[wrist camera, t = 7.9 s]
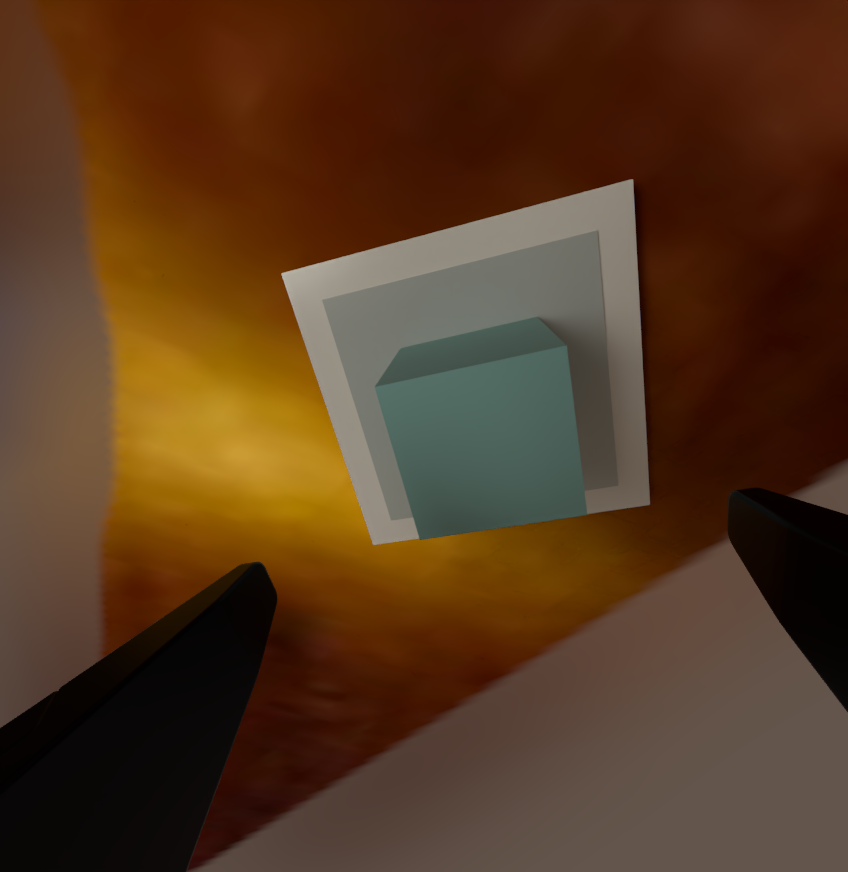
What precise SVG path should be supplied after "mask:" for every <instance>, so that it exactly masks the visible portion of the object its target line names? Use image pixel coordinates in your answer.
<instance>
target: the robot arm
mask: <svg viewBox="0 0 848 872" xmlns="http://www.w3.org/2000/svg"><path fill="white" fill-rule="evenodd" d="M728 535H729V539H730V541H731V543H732V545H733V547H734V549H735V550H736V552H737V554H738V555H739V557H740V558H741V560H742V562H743V563H744V565H745V567H746V568H747V570H748V572H749V573H750V575H751V577H752V578H753V580H754V582H755V583H756V585H757V586H758V588H759V590H760V591H761V593H762V595H763V596H764V598H765V600H766V601H767V603H768V605H769V606H770V608H771V609H772V611H773V613H774V614H775V616H776V617H777V619H778V620H779V622H780V623H781V625H782V626H783V627H784V628H785V630H786V632H787V633H788V634H789V636H790V637H791V638H792V640H793V641H794V642H795V644H796V645H797V646H798V648H799V649H800V650H801V651H802V653H803V654H804V655H805V657H806V658H807V659H808V661H809V662H810V663H811V665H812V666H813V667H814V669H815V670H816V671H817V673H818V674H819V675H820V677H821V678H822V679H823V680H824V682H825V683H826V684H827V686H828V687H829V688H830V690H831V691H832V692H833V693H834V695H835V696H836V698H837V699H838V700H839V702H840V703H841V704H842V705H843V707H844V708H845V709H846V711H847V712H848V515H846V514H843V513H840V512H837V511H833V510H830V509H827V508H824V507H820V506H817V505H814V504H810V503H807V502H804V501H801V500H797V499H794V498H791V497H788V496H784V495H781V494H778V493H775V492H771V491H768V490H765V489H762V488H749V489H742V490H736V491H733V492H732V493H731V494H730V496H729V500H728ZM276 605H277V593H276V590H275V588H274V585H273V583H272V581H271V579H270V577H269V575H268V572H267V570H266V568H265V566H264V565H263V564H262V563H261V562H251V563H244V564H241V565H239V566H237V567H236V568H234V569H233V570H232V571H230V572H229V573H227V574H226V575H224V576H223V577H221V578H220V579H218V580H217V581H215V582H214V583H212V584H211V585H210V586H208V587H207V588H205V589H204V590H202V591H201V592H199V593H198V594H196V595H195V596H193V597H192V598H191V599H189V600H188V601H186V602H185V603H183V604H182V605H180V606H179V607H177V608H176V609H174V610H173V611H172V612H170V613H169V614H167V615H166V616H164V617H163V618H161V619H160V620H158V621H157V622H155V623H154V624H152V625H151V626H150V627H148V628H147V629H145V630H144V631H142V632H141V633H139V634H138V635H136V636H135V637H133V638H132V639H131V640H129V641H128V642H126V643H125V644H123V645H122V646H120V647H119V648H117V649H116V650H114V651H113V652H112V653H110V654H109V655H107V656H106V657H104V658H103V659H101V660H100V661H98V662H97V663H95V664H94V665H93V666H91V667H90V668H88V669H87V670H85V671H84V672H82V673H81V674H79V675H78V676H76V677H75V678H73V679H72V680H71V681H69V682H68V683H66V684H65V685H63V686H62V687H61V688H60V689H59V691H55V692H53V693H51V694H50V695H48V696H47V697H46V698H44V699H43V700H41V701H40V702H38V703H37V704H35V705H34V706H33V707H31V708H30V709H28V710H26V711H25V712H24V713H22V714H21V715H19V716H17V717H16V718H14V719H13V720H12V721H10V722H9V723H7V724H6V725H4V726H3V727H1V728H0V872H186V871H187V869H188V866H189V863H190V860H191V858H192V855H193V852H194V849H195V847H196V844H197V841H198V838H199V836H200V833H201V830H202V827H203V825H204V822H205V819H206V816H207V814H208V811H209V808H210V806H211V803H212V800H213V797H214V795H215V792H216V789H217V786H218V784H219V781H220V778H221V775H222V773H223V770H224V767H225V764H226V762H227V759H228V756H229V753H230V751H231V748H232V745H233V742H234V740H235V737H236V734H237V732H238V729H239V726H240V723H241V721H242V718H243V715H244V712H245V710H246V707H247V704H248V701H249V699H250V696H251V693H252V690H253V688H254V685H255V682H256V679H257V676H258V673H259V669H260V666H261V662H262V659H263V655H264V651H265V647H266V643H267V639H268V636H269V632H270V628H271V624H272V620H273V616H274V613H275V609H276Z"/></svg>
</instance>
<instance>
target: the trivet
mask: <svg viewBox="0 0 848 872" xmlns="http://www.w3.org/2000/svg"><path fill="white" fill-rule="evenodd" d="M281 274H282V277H283V280H284V283H285V286H286V289H287V292H288V295H289V298H290V301H291V304H292V307H293V310H294V313H295V316H296V319H297V322H298V325H299V328H300V330H301V333H302V336H303V339H304V342H305V345H306V348H307V351H308V354H309V357H310V360H311V363H312V366H313V369H314V372H315V375H316V378H317V381H318V383H319V386H320V389H321V392H322V395H323V398H324V401H325V404H326V407H327V410H328V413H329V416H330V419H331V422H332V425H333V428H334V431H335V434H336V436H337V439H338V442H339V445H340V448H341V451H342V454H343V457H344V460H345V463H346V466H347V469H348V472H349V475H350V478H351V481H352V484H353V487H354V490H355V492H356V495H357V498H358V501H359V504H360V507H361V510H362V513H363V516H364V519H365V522H366V525H367V528H368V531H369V534H370V537H371V540H372V543H373V545H377V544H384V543H391V542H398V541H404V540H411V539H418V538H419V535H418V532H417V529H416V525H415V522H414V518H413V515H412V512H411V508H410V505H409V502H408V498H407V495H406V491H405V488H404V485H403V481H402V478H401V475H400V471H399V468H398V465H397V461H396V458H395V454H394V451H393V448H392V444H391V441H390V438H389V434H388V431H387V427H386V424H385V421H384V417H383V414H382V411H381V407H380V404H379V400H378V397H377V394H376V390H375V386H376V384H377V383H378V381H379V380H380V378H381V377H382V375H383V374H384V372H385V371H386V369H387V368H388V366H389V365H390V363H391V362H392V360H393V359H394V357H395V356H396V354H397V353H398V351H399V350H400V348H403V347H408V346H412V345H416V344H421V343H425V342H429V341H434V340H438V339H442V338H447V337H451V336H455V335H460V334H464V333H468V332H473V331H477V330H481V329H486V328H490V327H494V326H499V325H503V324H507V323H512V322H516V321H520V320H525V319H529V318H533V317H538V318H539V319H540V320H541V321H542V322H543V323H544V324H545V325H546V326H547V327H548V328H549V329H550V330H551V331H552V332H553V333H554V334H555V335H556V336H557V337H558V338H559V339H561V340H562V341H563V342H564V343H565V344H566V345H567V352H568V360H569V368H570V376H571V385H572V393H573V401H574V409H575V417H576V426H577V434H578V442H579V450H580V458H581V466H582V475H583V483H584V491H585V499H586V507H587V514H591V513H597V512H604V511H611V510H618V509H625V508H632V507H639V506H646V505H650V492H649V473H648V454H647V435H646V416H645V397H644V378H643V359H642V340H641V321H640V302H639V283H638V264H637V244H636V225H635V206H634V187H633V179H631V180H627V181H624V182H620V183H616V184H612V185H609V186H605V187H601V188H597V189H594V190H590V191H586V192H583V193H579V194H575V195H571V196H568V197H564V198H560V199H557V200H553V201H549V202H545V203H542V204H538V205H534V206H530V207H527V208H523V209H519V210H516V211H512V212H508V213H504V214H501V215H497V216H493V217H490V218H486V219H482V220H478V221H475V222H471V223H467V224H463V225H460V226H456V227H452V228H449V229H445V230H441V231H437V232H434V233H430V234H426V235H423V236H419V237H415V238H411V239H408V240H404V241H400V242H396V243H393V244H389V245H385V246H382V247H378V248H374V249H370V250H367V251H363V252H359V253H356V254H352V255H348V256H344V257H341V258H337V259H333V260H330V261H326V262H322V263H318V264H315V265H311V266H307V267H303V268H300V269H296V270H292V271H289V272H285V273H281Z"/></svg>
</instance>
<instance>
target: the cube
mask: <svg viewBox="0 0 848 872" xmlns="http://www.w3.org/2000/svg"><path fill="white" fill-rule="evenodd" d="M375 390H376V394H377V397H378V400H379V404H380V407H381V411H382V414H383V417H384V421H385V424H386V427H387V431H388V434H389V438H390V441H391V444H392V448H393V451H394V454H395V458H396V461H397V465H398V468H399V471H400V475H401V478H402V481H403V485H404V488H405V491H406V495H407V498H408V502H409V505H410V508H411V512H412V515H413V518H414V522H415V525H416V529H417V532H418V535H419V539H420V540H422V539H429V538H436V537H443V536H449V535H456V534H463V533H469V532H476V531H483V530H490V529H496V528H503V527H510V526H516V525H523V524H530V523H537V522H543V521H550V520H557V519H563V518H570V517H577V516H584V515H587V507H586V499H585V491H584V483H583V475H582V466H581V458H580V450H579V442H578V434H577V426H576V417H575V409H574V401H573V393H572V385H571V376H570V368H569V360H568V352H567V345H566V344H565V343H564V342H563V341H562V340H561V339H559V338H558V337H557V336H556V335H555V334H554V333H553V332H552V331H551V330H550V329H549V328H548V327H547V326H546V325H545V324H544V323H543V322H542V321H541V320H540V319H539V318H538V317H533V318H529V319H525V320H520V321H516V322H512V323H507V324H503V325H499V326H494V327H490V328H486V329H481V330H477V331H473V332H468V333H464V334H460V335H455V336H451V337H447V338H442V339H438V340H434V341H429V342H425V343H421V344H416V345H412V346H408V347H403V348H400V350H399V351H398V353H397V354H396V356H395V357H394V359H393V360H392V362H391V363H390V365H389V366H388V368H387V369H386V371H385V372H384V374H383V375H382V377H381V378H380V380H379V381H378V383H377V384H376V386H375Z"/></svg>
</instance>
